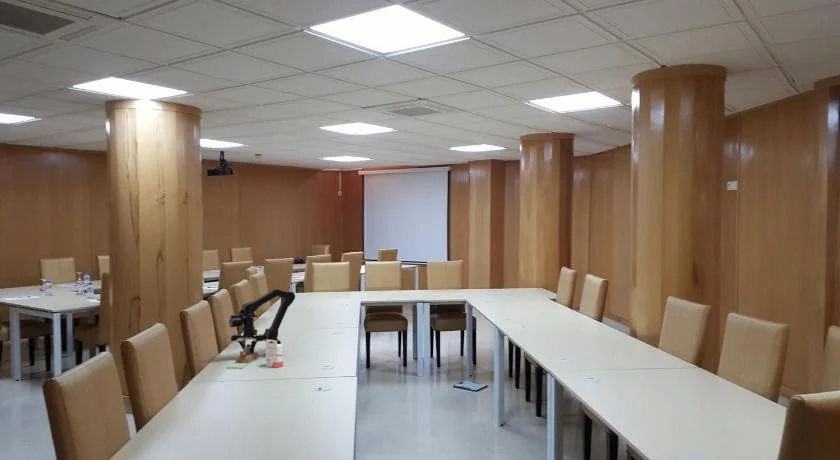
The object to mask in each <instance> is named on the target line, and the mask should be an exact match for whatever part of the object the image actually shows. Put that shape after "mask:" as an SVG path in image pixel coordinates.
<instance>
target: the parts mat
mask: <svg viewBox="0 0 840 460" xmlns="http://www.w3.org/2000/svg"><path fill="white" fill-rule="evenodd" d="M249 364H250V363H236V362H233V363H231V364H229V365H228V366H225V369H233V368H234V369H235V370H237V369H240V370H242V368H246V367H247V366H249Z"/></svg>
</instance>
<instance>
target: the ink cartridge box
mask: <svg viewBox="0 0 840 460" xmlns="http://www.w3.org/2000/svg"><path fill="white" fill-rule="evenodd" d="M270 342H273V343H270ZM265 367H271V368H275V369H276V368H281V367H284V344H277V340H268V339H266V341H265Z"/></svg>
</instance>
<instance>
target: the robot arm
mask: <svg viewBox="0 0 840 460" xmlns="http://www.w3.org/2000/svg"><path fill="white" fill-rule="evenodd" d="M276 297H280V305H279V307H278V309H277V311H276V314H275V316H274V318H273V321H272V323H271V325H270V327H269V328H265V330H264V333H263V334H262V333H261V334H260V333H259V334H258V331H259V330H258V329H256V328H255V327H256V326H254V318H257V317H258V315H257V314H255V312H256V311H257V310H258V309H259V308H260V307H261V306H263V305H264V304H266V303H267V302H269V301H271V300H273V299H274V298H276ZM295 299H296V294H295V292H294V291H290V290H285V291H283V290H280V289H278V288H272V290H270V291H268V292H267V293H265V294H263V295H262V296H260V297H258V298H257V299H253V300H252V301H251V300H250V301H248V302H245V303H243V304H242V305H241V309H240V311H239V312H238V314H231V315H230V318H229V320H228V325H229V328H237V327H238V328H239V327H242V328H241V329H242V333H234V334H233V335H231V337H230V341H232V342H237V343H238V344H239V345H240V347H241V349H242V350H243V348H244V347H246V346H247V344H246V343H247V342H246V341H247V340H252V341H251V342H250V344H251V351H252V353H253V351H255V347H256V345H257V343H258V342H266V339H268V340H277V344H281V343H282V342H281V341H280V340H279V338H278V337H279V329H280V326H281V325H282V323H283V319H284V317H285V316H286V313H287V311H288V308H289V307H290V306H291V304H293V302H294V301H295ZM242 334H243V335H242ZM270 343H273V342H270ZM281 345H282V344H281Z"/></svg>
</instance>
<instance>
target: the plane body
mask: <svg viewBox="0 0 840 460" xmlns="http://www.w3.org/2000/svg"><path fill="white" fill-rule="evenodd" d="M259 357H260V356H259V351H256V350H254V353H253V354H251V355H246V352H245V351H243V350H242V351H240V352H239V356H236V357H235V363H249V364H250V363H252V362H253V361H254V359H255V360H256V359H258V358H259ZM251 361H252V362H251Z"/></svg>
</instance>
